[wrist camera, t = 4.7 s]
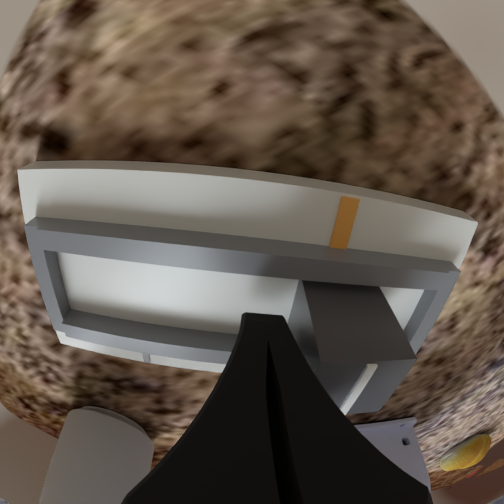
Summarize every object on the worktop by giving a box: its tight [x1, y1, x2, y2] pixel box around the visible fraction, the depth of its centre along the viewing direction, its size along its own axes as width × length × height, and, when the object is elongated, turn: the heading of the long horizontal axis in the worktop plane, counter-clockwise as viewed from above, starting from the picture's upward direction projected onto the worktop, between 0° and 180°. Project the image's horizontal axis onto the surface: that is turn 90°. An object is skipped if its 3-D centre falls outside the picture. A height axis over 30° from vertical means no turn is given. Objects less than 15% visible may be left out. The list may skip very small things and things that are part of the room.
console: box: [18, 160, 478, 373], centre depth 11 cm, size 18×9×2 cm, turn 83°
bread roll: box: [439, 434, 491, 471], centre depth 26 cm, size 8×9×4 cm
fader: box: [287, 280, 417, 415], centre depth 9 cm, size 3×3×4 cm
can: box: [39, 406, 154, 504], centre depth 14 cm, size 8×8×12 cm
